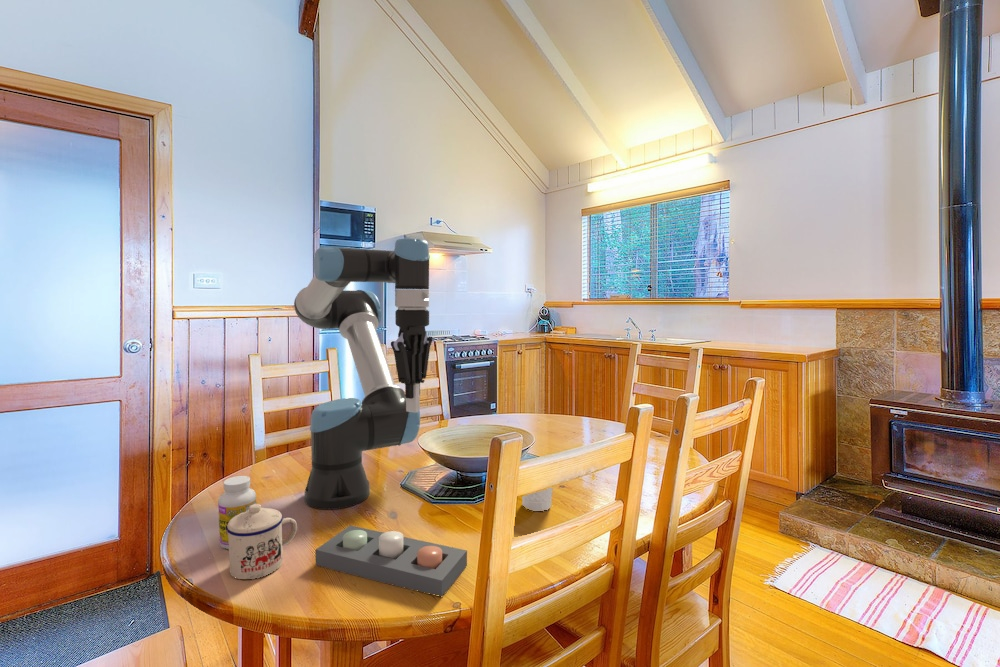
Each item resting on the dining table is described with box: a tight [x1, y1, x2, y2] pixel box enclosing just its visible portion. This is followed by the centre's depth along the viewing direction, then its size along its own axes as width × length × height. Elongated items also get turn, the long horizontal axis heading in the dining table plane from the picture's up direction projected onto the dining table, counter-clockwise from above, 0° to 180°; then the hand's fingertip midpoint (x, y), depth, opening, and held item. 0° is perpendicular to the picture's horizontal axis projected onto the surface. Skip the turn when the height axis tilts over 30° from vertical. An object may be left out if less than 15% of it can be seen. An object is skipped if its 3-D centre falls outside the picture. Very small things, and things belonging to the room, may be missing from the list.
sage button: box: [343, 530, 367, 551], centre depth 92 cm, size 4×4×4 cm
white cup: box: [521, 487, 554, 512], centre depth 115 cm, size 8×8×10 cm
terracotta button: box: [417, 546, 442, 569], centre depth 87 cm, size 4×4×4 cm
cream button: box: [379, 530, 404, 560], centre depth 89 cm, size 4×4×4 cm
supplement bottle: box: [217, 475, 257, 550], centre depth 97 cm, size 7×7×13 cm
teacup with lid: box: [227, 503, 298, 580], centre depth 89 cm, size 12×9×12 cm
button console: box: [314, 525, 468, 597], centre depth 89 cm, size 26×10×3 cm, turn 70°
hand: (412, 411), depth 112 cm, fingers closed
